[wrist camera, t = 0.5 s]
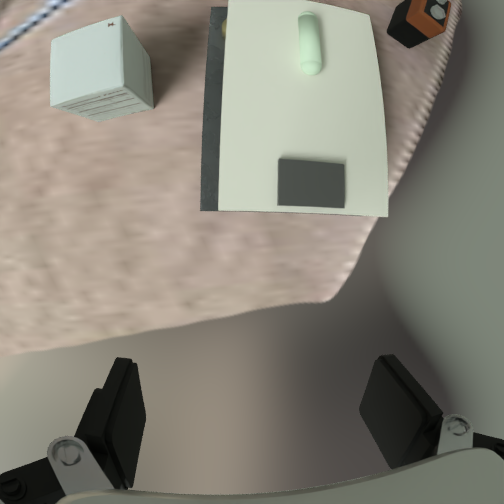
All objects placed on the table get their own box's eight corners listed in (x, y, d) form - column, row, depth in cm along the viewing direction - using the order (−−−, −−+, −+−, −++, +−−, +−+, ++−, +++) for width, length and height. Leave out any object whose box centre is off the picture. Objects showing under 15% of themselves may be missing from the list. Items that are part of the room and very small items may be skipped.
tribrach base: (211, 10, 29) (211, -11, 24) (362, 30, 32) (380, 15, 26) (200, 209, 36) (198, 217, 31) (359, 214, 38) (379, 222, 33)
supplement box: (95, 70, 30) (50, 37, 18) (151, 56, 30) (124, 12, 18) (97, 124, 32) (47, 108, 20) (155, 111, 32) (125, 85, 20)
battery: (384, 33, 32) (423, 8, 22) (395, 5, 30) (431, -20, 21) (408, 50, 33) (450, 30, 23) (418, 22, 31) (456, 0, 22)
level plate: (228, 4, 26) (230, -19, 22) (361, 24, 28) (376, 6, 24) (218, 211, 28) (218, 209, 24) (376, 216, 30) (398, 216, 26)
